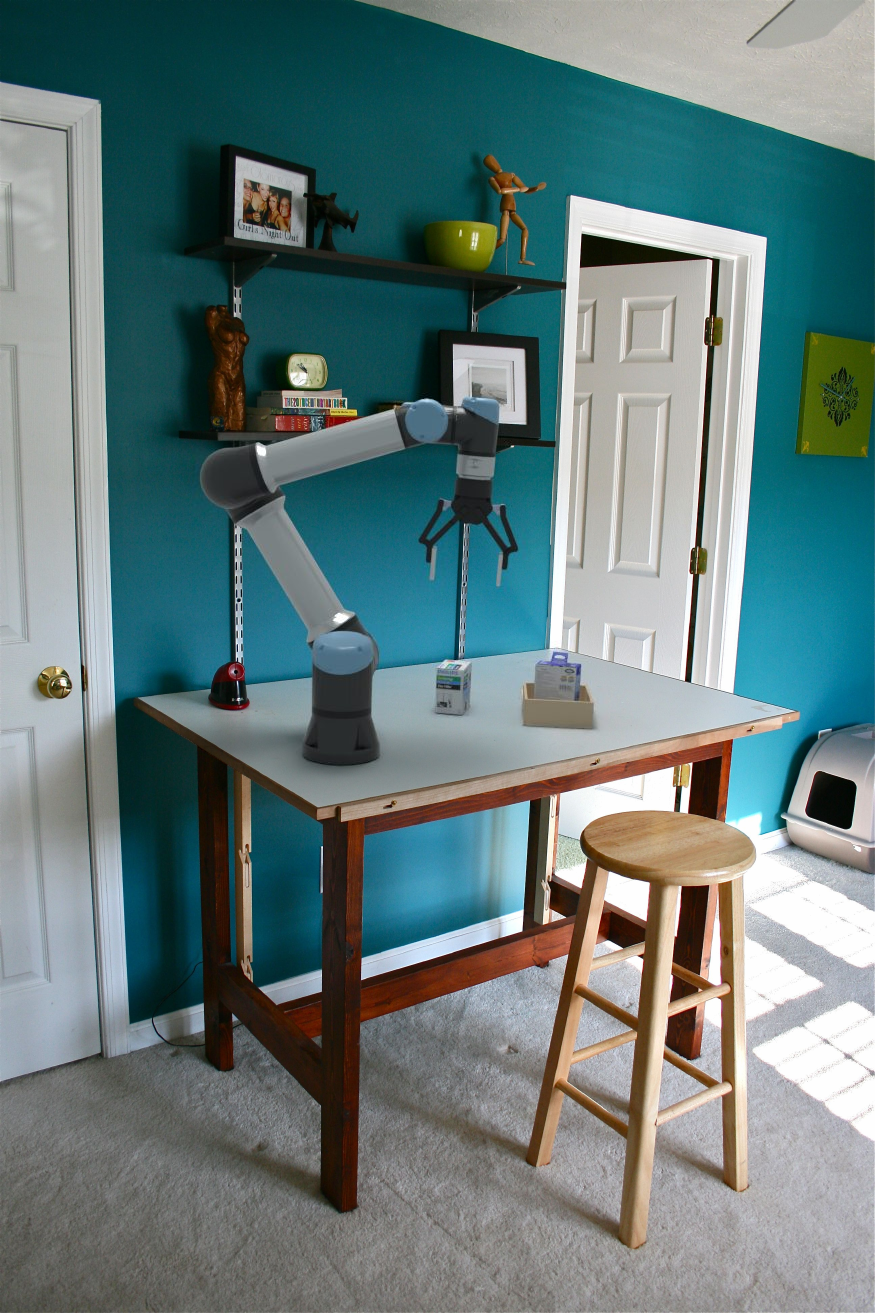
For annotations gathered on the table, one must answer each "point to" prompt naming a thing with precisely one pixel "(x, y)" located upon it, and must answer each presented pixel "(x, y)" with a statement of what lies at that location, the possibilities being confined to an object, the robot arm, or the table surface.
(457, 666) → the light bulb box
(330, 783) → the table surface
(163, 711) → the table surface
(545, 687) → the ink cartridge box
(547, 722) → the open tan box
